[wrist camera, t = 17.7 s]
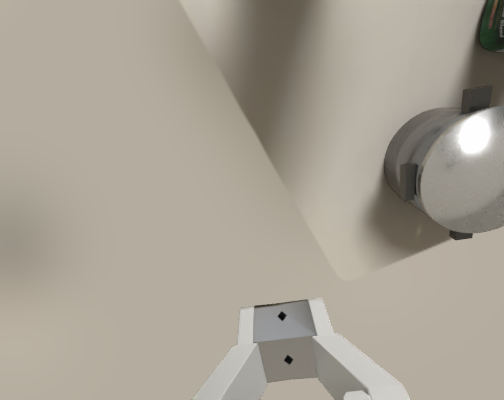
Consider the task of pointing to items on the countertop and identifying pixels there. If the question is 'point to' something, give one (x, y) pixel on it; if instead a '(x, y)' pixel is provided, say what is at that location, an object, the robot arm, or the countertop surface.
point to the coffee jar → (493, 26)
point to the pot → (426, 145)
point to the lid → (466, 174)
